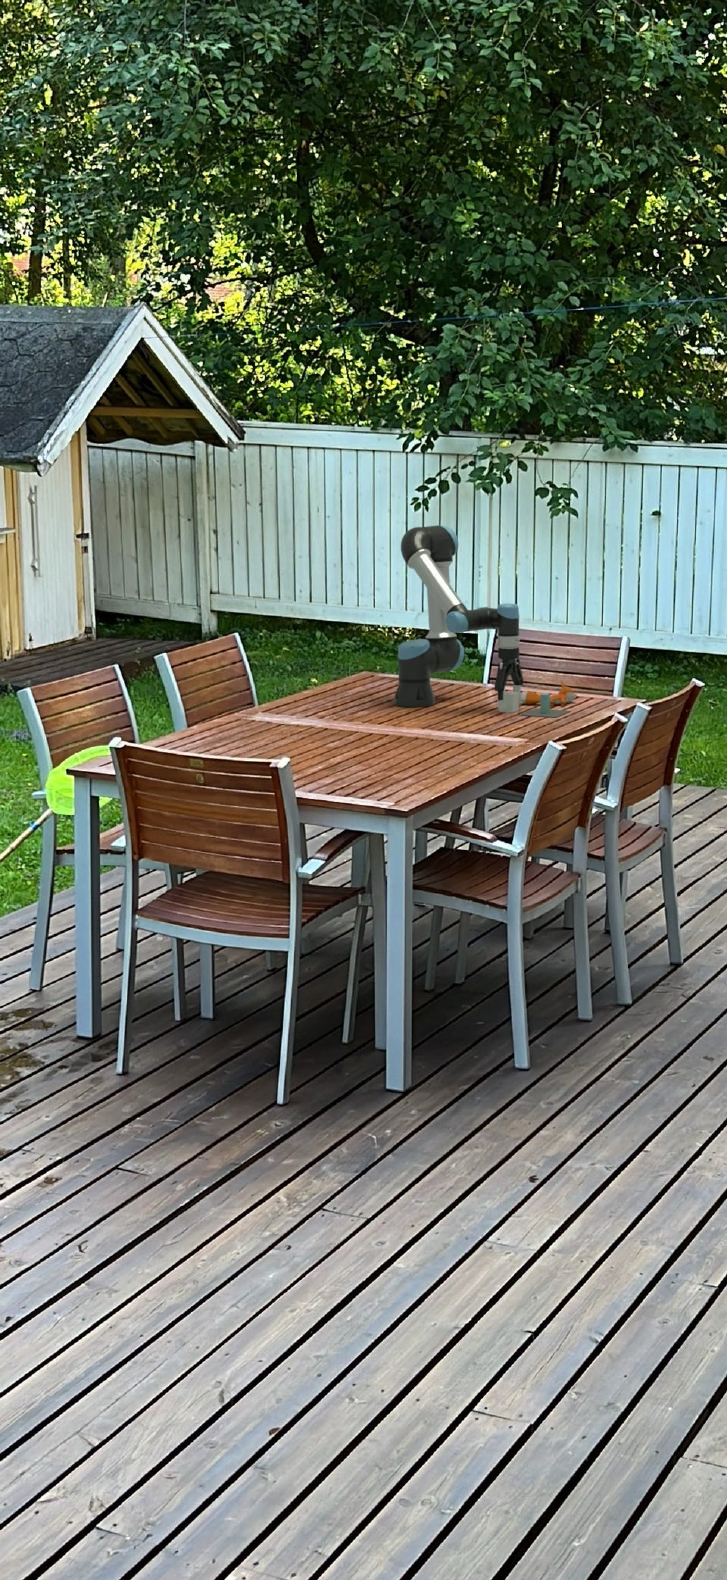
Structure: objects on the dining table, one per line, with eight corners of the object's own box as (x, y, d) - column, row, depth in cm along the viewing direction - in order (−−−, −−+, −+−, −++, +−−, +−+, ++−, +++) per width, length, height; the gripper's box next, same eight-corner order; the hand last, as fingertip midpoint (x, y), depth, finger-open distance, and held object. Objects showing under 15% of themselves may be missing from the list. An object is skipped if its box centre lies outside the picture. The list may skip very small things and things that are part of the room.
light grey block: (499, 711, 644) (499, 693, 643) (505, 709, 649) (505, 691, 647) (512, 712, 642) (512, 694, 640) (518, 710, 646) (518, 692, 645)
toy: (578, 694, 649) (575, 680, 663) (516, 694, 650) (515, 680, 664) (577, 715, 652) (575, 700, 666) (516, 715, 654) (515, 701, 667)
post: (540, 713, 638) (540, 694, 637) (543, 712, 640) (543, 693, 639) (547, 714, 637) (547, 694, 635) (549, 713, 639) (549, 693, 638)
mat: (519, 715, 636) (519, 714, 636) (534, 709, 648) (534, 708, 648) (555, 717, 629) (555, 717, 629) (570, 711, 641) (570, 710, 641)
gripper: (504, 652, 628) (504, 711, 632) (532, 643, 649) (532, 701, 654) (484, 651, 631) (485, 710, 636) (513, 642, 653) (513, 700, 657)
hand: (509, 706), depth 645 cm, fingers open, 13 cm apart
